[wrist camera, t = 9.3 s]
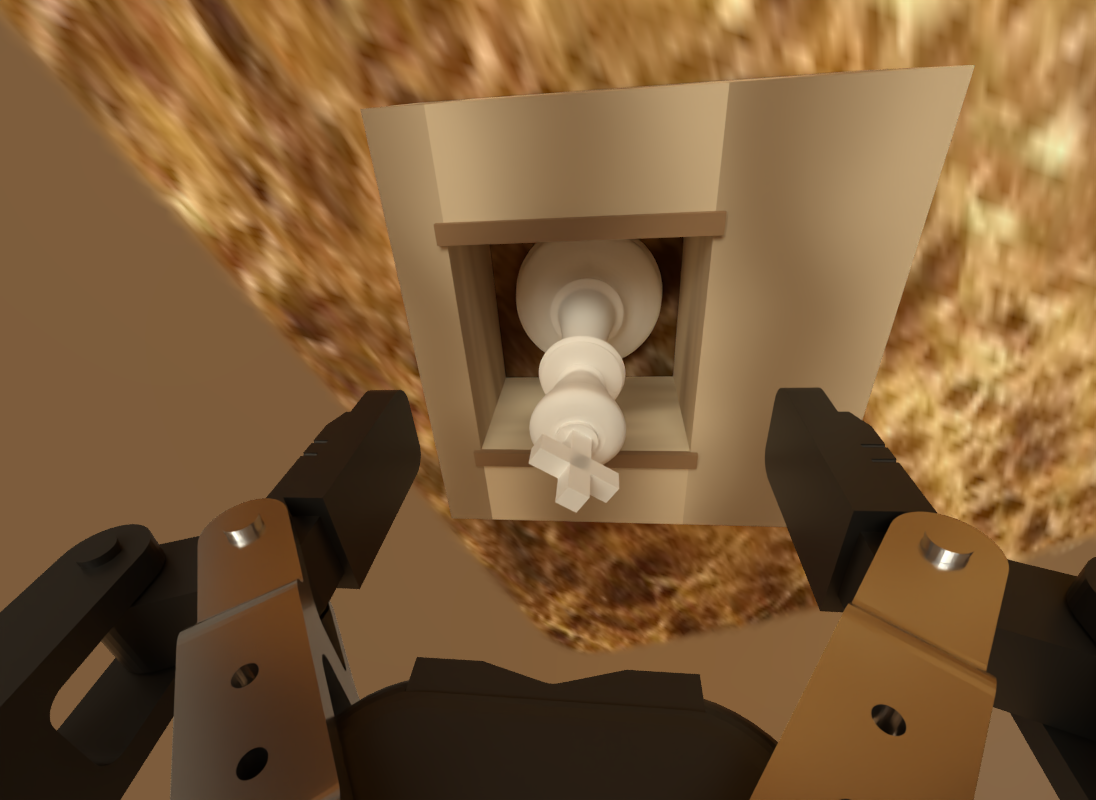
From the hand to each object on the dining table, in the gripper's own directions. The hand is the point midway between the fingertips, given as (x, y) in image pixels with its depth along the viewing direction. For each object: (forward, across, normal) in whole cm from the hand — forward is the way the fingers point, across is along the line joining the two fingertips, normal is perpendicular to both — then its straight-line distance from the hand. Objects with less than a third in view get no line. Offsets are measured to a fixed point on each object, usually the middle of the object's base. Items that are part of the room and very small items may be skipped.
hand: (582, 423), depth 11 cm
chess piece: (+8, 0, 0) cm, 8 cm away
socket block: (+7, -1, 0) cm, 7 cm away
